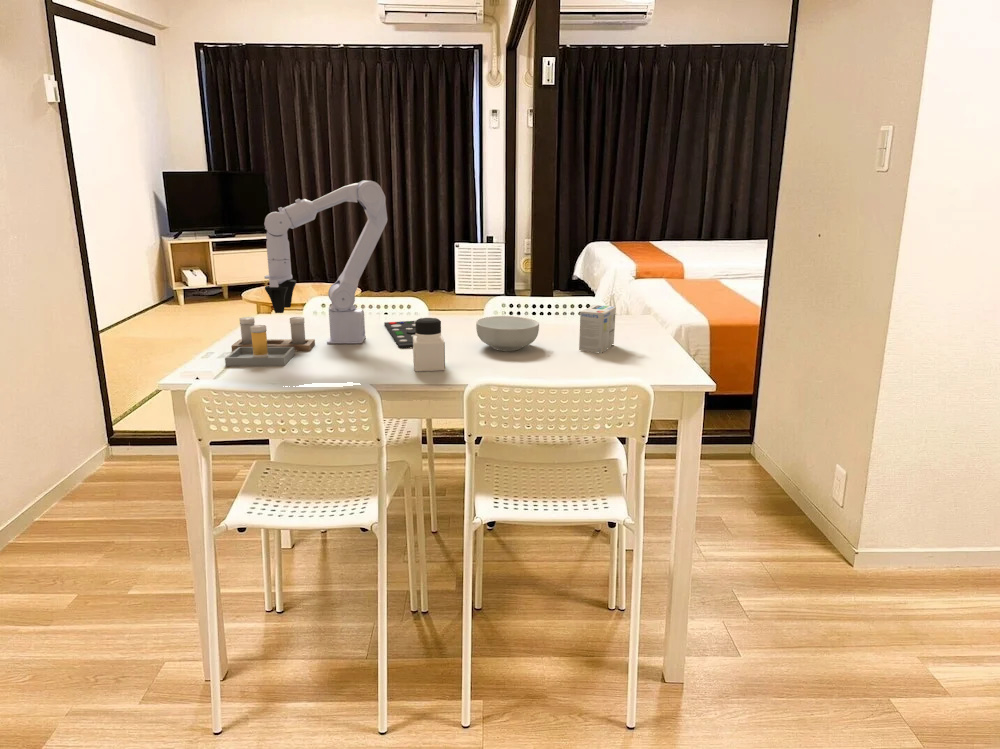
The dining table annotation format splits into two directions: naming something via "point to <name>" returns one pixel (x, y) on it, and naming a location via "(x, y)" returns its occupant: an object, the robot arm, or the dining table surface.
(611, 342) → the light bulb box
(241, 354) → the tray
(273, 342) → the brown wooden rack
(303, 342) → the cylinder
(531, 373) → the dining table surface
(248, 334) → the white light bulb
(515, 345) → the cereal bowl
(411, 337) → the remote control
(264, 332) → the amber fuse
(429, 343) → the medicine bottle
